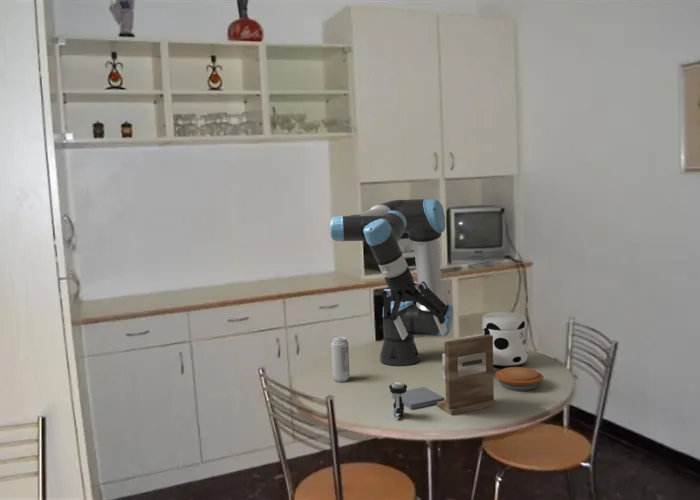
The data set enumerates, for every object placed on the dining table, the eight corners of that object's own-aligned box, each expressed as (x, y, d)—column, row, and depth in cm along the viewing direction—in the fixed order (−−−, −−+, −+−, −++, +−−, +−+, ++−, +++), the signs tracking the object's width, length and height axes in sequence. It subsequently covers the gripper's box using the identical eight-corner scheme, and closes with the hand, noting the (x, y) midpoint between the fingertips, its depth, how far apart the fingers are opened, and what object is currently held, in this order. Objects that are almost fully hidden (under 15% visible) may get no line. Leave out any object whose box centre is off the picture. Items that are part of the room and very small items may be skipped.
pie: (515, 396, 199) (515, 381, 198) (485, 382, 213) (485, 368, 213) (553, 388, 205) (553, 373, 205) (522, 375, 219) (522, 361, 219)
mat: (392, 397, 202) (392, 393, 202) (424, 391, 207) (424, 386, 207) (411, 409, 191) (410, 404, 191) (444, 402, 196) (444, 397, 196)
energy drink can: (339, 376, 226) (337, 335, 224) (353, 378, 222) (351, 337, 221) (329, 381, 221) (327, 339, 219) (343, 383, 218) (341, 341, 216)
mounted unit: (434, 405, 194) (432, 337, 192) (477, 395, 200) (475, 330, 198) (451, 415, 185) (450, 344, 183) (495, 405, 192) (494, 336, 189)
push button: (405, 421, 182) (404, 387, 181) (387, 420, 183) (386, 387, 182) (409, 412, 188) (408, 380, 187) (391, 411, 190) (390, 379, 189)
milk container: (537, 364, 231) (537, 316, 229) (505, 373, 222) (505, 323, 220) (502, 354, 245) (501, 309, 243) (470, 363, 236) (469, 316, 234)
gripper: (355, 284, 181) (384, 345, 187) (428, 271, 166) (457, 338, 172) (367, 272, 187) (394, 331, 193) (439, 258, 172) (466, 323, 177)
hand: (424, 335), depth 182 cm, fingers open, 13 cm apart
